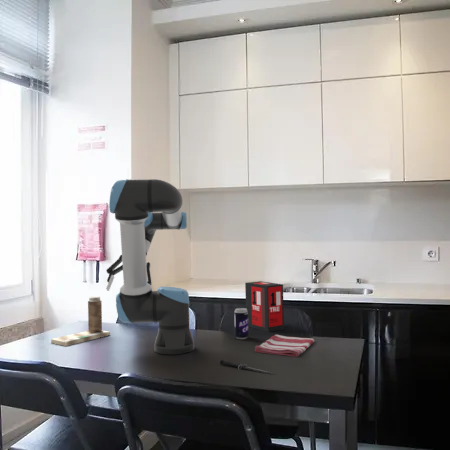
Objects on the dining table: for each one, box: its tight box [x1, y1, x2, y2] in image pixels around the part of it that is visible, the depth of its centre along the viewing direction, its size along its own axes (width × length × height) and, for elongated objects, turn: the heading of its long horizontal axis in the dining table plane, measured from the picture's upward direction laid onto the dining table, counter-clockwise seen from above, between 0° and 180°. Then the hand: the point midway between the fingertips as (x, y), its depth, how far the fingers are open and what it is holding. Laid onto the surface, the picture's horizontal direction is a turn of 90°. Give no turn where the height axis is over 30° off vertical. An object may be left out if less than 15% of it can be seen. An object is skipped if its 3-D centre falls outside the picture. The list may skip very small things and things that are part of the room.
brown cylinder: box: [87, 296, 103, 333], centre depth 198 cm, size 5×7×15 cm, turn 53°
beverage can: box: [233, 307, 249, 340], centre depth 189 cm, size 6×6×12 cm
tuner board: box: [50, 329, 111, 347], centre depth 193 cm, size 22×10×2 cm, turn 143°
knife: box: [219, 359, 277, 376], centre depth 146 cm, size 25×2×5 cm
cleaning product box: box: [244, 280, 285, 333], centre depth 209 cm, size 16×9×20 cm, turn 33°
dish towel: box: [254, 334, 316, 358], centre depth 174 cm, size 17×23×3 cm
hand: (122, 294), depth 195 cm, fingers open, 13 cm apart
